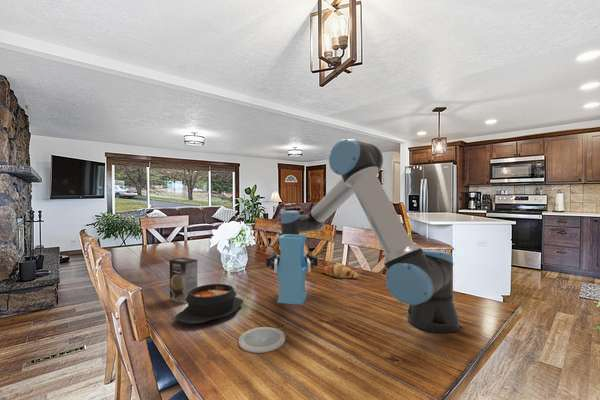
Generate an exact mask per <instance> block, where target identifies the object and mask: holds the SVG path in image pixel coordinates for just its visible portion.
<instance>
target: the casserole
mask: <svg viewBox="0 0 600 400" xmlns="http://www.w3.org/2000/svg"><path fill="white" fill-rule="evenodd" d="M185 300H186V302H187V305H188V306H186V307H185V308H184V309H183V310H182V311H180V312H178V313H177V314H176V315H175V316H174V319H175V320H176V321H177V322H180V323H183V324H191V325H199V324H204V323H206V322H208V321H209V322H210V321H212V320H218V319H221V318H225V317H228V316H230V315H232V314H233V313H235V312H236V311H237V310H238V309H239V308H240V306H241V305H242V304H244V302H245V301H244V300H243V298H240V297H237V292H236V291H235V288H234V287H233V286H232V285H229V284H227V283H225V284H224V283H211V284H210V283H209V284H204V285H200V286H197V287H196V288H194V289H192V290H190V291H189V293H188V296H187V297H186V299H185Z"/></svg>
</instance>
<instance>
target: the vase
mask: <svg viewBox="0 0 600 400" xmlns="http://www.w3.org/2000/svg"><path fill="white" fill-rule="evenodd" d="M307 236H308V234H300V235H291V234H285V235H282V234H281V235H279V236H278V237H277V238H278V243H279V248H280V249H279V250H280V254H281V255H280V254H279V255H280V262H279V265H278V266H277V273H276V275H277V279H278V288H279V289H278V290H279V291H278V296H277V297H278V298H277V304H290V305H303V304H304V302H305V301H306V299H307V291H306V278H307V277H306V275H307V272H308V270H307V264H306V261H305V257H304V255H305V244H306V240H307Z"/></svg>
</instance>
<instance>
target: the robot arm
mask: <svg viewBox="0 0 600 400" xmlns="http://www.w3.org/2000/svg"><path fill="white" fill-rule="evenodd" d="M328 163H329V168H330V169H331V170H332V172H333V173H334V174H336V175H338V176H341V178H340V180H338V182H336V184H335V185H334V186H333V187H332V188H331V189H330V190H329V191H328V192H327V193H326V194H325V196H323V197H322V199H320V200H319V202H318V203H317V204H316V205H315V206H314V207H313V208H312V209H311V210H310V211H309V212H308V213H306V214H300V211H298V210H284V211H282V212H281V217H280V228H281V229H280V231H281V236H282V235H285V234H291V235H301V234H300V233H305V232H306V233H307V232H315V231H316V232H317V231H318V230H319V231H320V230H322V229H323V228H324V226H325V221H326V220H327V219H328V218H330V216H332V215H333V214H334V213H335V212H336V210H338V209H339V208H340V207H341V206H342V205H343V204H344V203H345V202H346V201H348V199H349V198H350V197H351V196H353V195H354V194H355V196H356V198H357V200H358V202H359V204H360V207H361V208H362V210H363V212H364V214H365V216H366V218H367V220H368V222H369V225H370V228H372V231H373V232H374V235H375V236H376V238H377V241H378V243H379V245H380V247H381V249H382V251H383V253H384V260H383V265H384V267H385V269H386V273H385V276H386V277H385V284H386V287H387V290H388V291H389V294H391V295H392V297H393V298H394V299H395V300H397V301H398V302H400V303H403V304H404V305H407V306H408V308H407V311H406V312H407V313H406V314H407V317H406V319H407V321H408V323H410V325H412V326H414V327H415V328H418V329H422V330H424V331H428V332H432V333H438V334H439V333H441V334H446V333H447V334H448V333H454V332H457V331H458V330H460V318H459V314H458V311H457V309H456V305H455V303H454V261H453V255H452V253H450V252H447V251H442V250H431V249H422V247H421V246H418V245H416V244H414V243H413V242H412V240H411V238H410V236H409V234H408V233H407V231H406V228H405V226H404V225H403V222H402V221H401V219H400V217H399V215H398V213H397V212H396V209H395V207H394V206H393V204H392V202H391V200H390V198H389V196H388V195H387V193H386V191H385V189H384V186H383V185H382V183H381V181H380V180H379V178H378V174H379V172H380V171H381V169H382V167H383V164H384V158H383V154H382V151H381V150H380V149H379V148H378V147H377V146H376V145H374V144H371V143H367V142H363V141H359V140H357V139H354V138H350V139H349V138H345V139H343V138H342V139H341V140H339V141H337V142H336V143H335V145H333V147H332V148H331V150H330V154H329V156H328ZM280 255H281V253H280V254H278V253H275V252H273V253H272V254H271V255H270V256H268V257H267V258H266V259H265V263H266V264H265V267H270V268H271V270H274V271H273V272H274V274H277V269H278V266H279V262H280ZM304 257H305V261H306V264H307V272H308V273H311V271H312V269H311V268H314V267H317V266H318V261H319V260H318V259H319V258H318V257H316V256H315V255H313V254H311V252H306V253H305V254H304Z"/></svg>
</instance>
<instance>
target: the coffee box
mask: <svg viewBox="0 0 600 400" xmlns="http://www.w3.org/2000/svg"><path fill="white" fill-rule="evenodd" d="M196 287H198V259H196V258H195V259H194V258H189V257H178V258H177V257H176V258H172V259H169V301H172V302H176V303H178V304H179V303H180V304H184V305H186V304H187V305H188V303H187V302H186V300H185V299H186V297H187V296H188V293H189V291H190V290H192V289H194V288H196Z"/></svg>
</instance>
